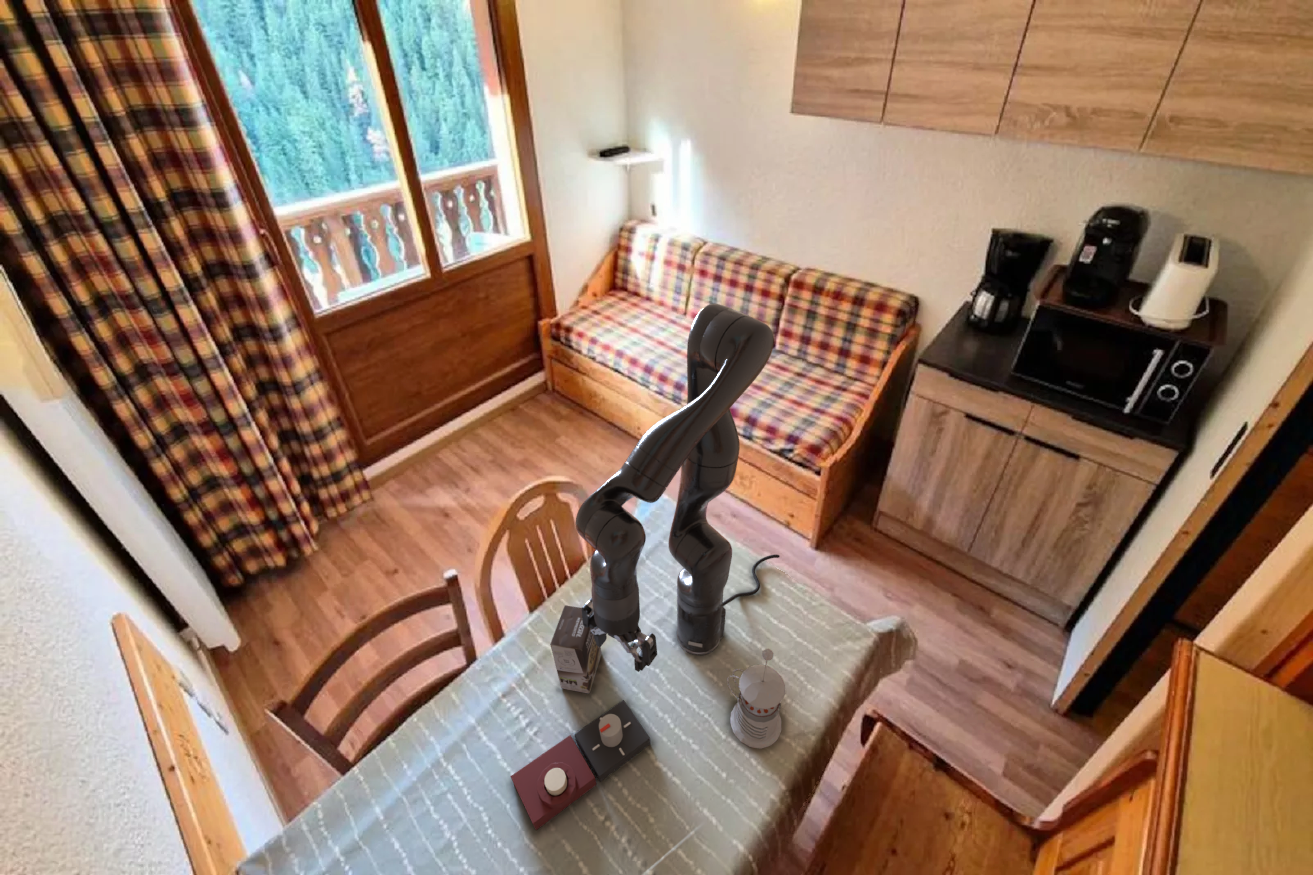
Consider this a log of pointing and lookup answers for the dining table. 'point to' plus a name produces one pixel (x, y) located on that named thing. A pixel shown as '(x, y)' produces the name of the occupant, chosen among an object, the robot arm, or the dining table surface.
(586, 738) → the panel
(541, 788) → the red button box
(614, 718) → the timer knob
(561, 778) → the button
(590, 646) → the coffee box
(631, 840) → the dining table surface
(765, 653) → the french press
